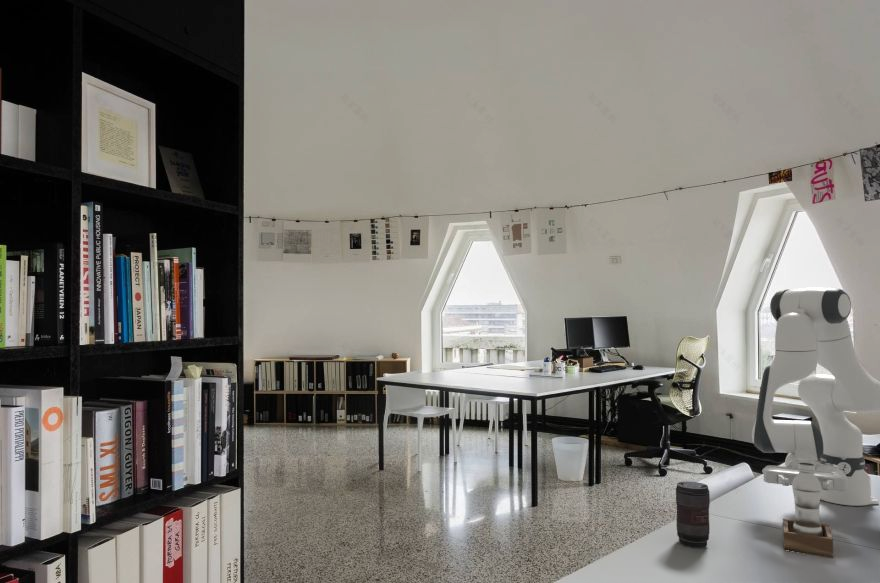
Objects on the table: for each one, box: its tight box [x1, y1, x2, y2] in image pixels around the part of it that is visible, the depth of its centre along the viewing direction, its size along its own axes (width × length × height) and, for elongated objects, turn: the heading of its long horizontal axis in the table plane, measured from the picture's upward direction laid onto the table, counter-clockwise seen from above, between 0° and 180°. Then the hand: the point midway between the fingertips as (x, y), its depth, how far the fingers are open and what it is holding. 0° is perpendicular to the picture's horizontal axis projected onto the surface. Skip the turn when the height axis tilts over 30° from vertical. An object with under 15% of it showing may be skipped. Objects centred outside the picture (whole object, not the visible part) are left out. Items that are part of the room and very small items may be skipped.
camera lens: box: [675, 481, 711, 549], centre depth 166 cm, size 8×8×15 cm
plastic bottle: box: [791, 463, 823, 537], centre depth 164 cm, size 6×7×20 cm
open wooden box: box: [782, 518, 834, 559], centre depth 163 cm, size 12×10×4 cm
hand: (805, 485), depth 172 cm, fingers open, 8 cm apart
